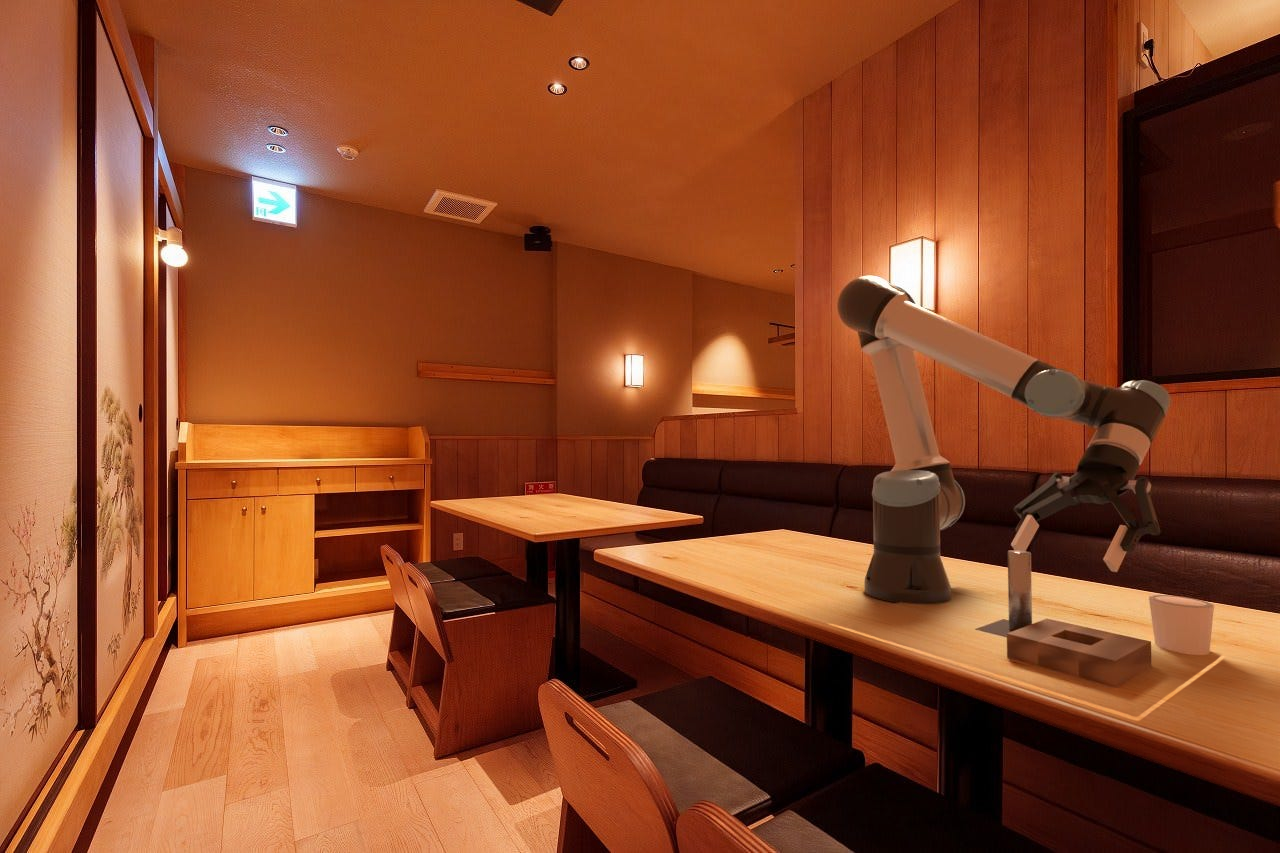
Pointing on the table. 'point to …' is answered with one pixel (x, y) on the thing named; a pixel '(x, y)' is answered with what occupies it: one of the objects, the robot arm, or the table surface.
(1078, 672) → the socket block
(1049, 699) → the table surface
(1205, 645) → the white cup
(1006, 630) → the coaster
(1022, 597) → the peg
